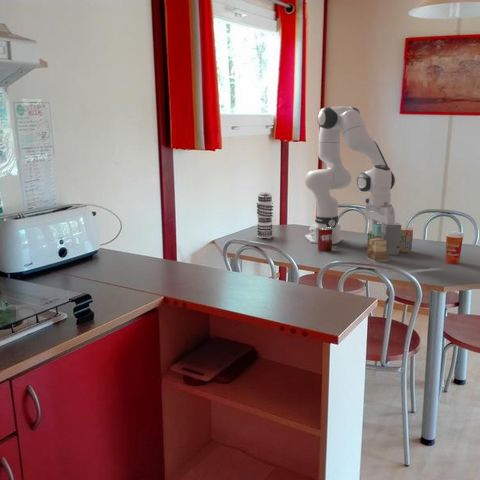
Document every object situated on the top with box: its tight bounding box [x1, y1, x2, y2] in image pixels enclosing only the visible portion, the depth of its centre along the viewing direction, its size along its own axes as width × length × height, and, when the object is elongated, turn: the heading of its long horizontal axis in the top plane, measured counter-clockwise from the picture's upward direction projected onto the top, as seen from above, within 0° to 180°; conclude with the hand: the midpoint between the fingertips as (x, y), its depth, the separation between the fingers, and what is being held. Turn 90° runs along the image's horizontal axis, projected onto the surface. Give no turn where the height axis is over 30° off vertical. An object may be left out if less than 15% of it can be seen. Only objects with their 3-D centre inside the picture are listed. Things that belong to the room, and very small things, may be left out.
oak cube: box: [369, 238, 386, 252], centre depth 247 cm, size 6×6×5 cm
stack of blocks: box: [366, 226, 414, 254], centre depth 265 cm, size 21×6×12 cm, turn 70°
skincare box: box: [381, 222, 402, 256], centre depth 258 cm, size 8×7×16 cm
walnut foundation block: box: [366, 248, 389, 262], centre depth 248 cm, size 7×7×4 cm
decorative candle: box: [256, 191, 274, 239], centre depth 297 cm, size 9×9×25 cm
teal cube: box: [371, 223, 386, 236], centre depth 245 cm, size 4×4×4 cm
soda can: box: [317, 227, 333, 253], centre depth 266 cm, size 7×7×12 cm
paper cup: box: [445, 230, 465, 265], centre depth 244 cm, size 8×8×14 cm
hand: (378, 230), depth 246 cm, fingers closed on teal cube, 4 cm apart
